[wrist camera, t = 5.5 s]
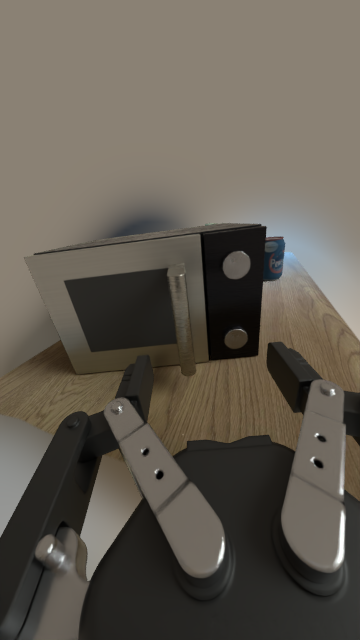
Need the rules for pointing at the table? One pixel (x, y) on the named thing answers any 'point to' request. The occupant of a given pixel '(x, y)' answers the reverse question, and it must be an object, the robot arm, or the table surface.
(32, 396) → the table surface
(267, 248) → the soda can
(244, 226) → the microwave
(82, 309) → the microwave door
